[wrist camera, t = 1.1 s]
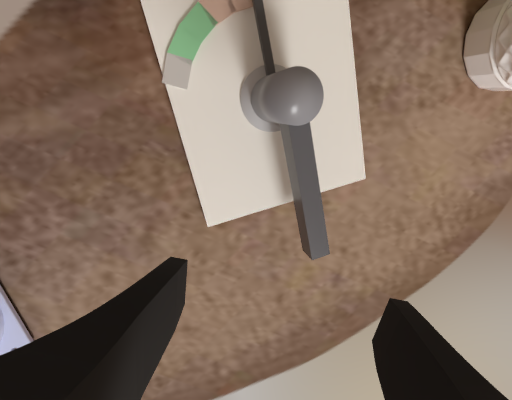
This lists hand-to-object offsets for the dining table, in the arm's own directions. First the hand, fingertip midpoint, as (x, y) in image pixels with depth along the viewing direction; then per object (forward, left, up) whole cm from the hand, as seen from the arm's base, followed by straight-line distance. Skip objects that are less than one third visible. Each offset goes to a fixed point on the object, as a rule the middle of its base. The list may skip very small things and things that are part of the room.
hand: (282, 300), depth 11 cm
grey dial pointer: (+4, +5, -10) cm, 12 cm away
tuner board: (+4, +6, -11) cm, 14 cm away
